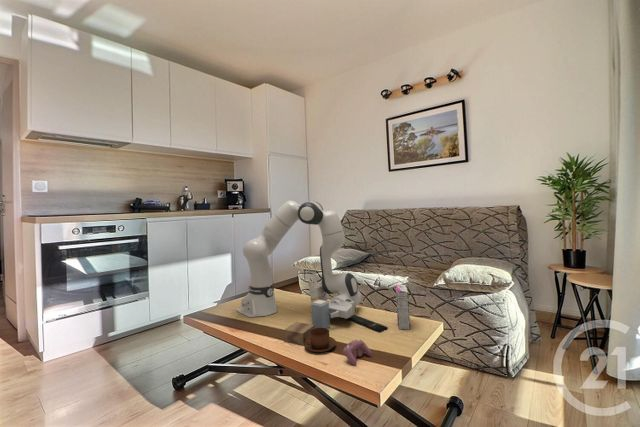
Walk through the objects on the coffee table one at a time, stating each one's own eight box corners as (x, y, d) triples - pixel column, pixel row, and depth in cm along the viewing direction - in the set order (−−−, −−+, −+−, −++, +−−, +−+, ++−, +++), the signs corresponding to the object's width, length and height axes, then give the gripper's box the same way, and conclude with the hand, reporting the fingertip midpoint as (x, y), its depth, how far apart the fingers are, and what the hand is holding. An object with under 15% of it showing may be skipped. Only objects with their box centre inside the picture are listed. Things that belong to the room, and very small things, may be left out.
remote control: (379, 334, 128) (379, 330, 128) (341, 318, 147) (341, 315, 147) (387, 330, 131) (387, 327, 131) (350, 315, 150) (350, 312, 150)
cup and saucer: (322, 358, 109) (321, 341, 109) (298, 349, 117) (297, 333, 117) (342, 345, 118) (341, 329, 118) (318, 337, 126) (317, 323, 126)
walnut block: (284, 341, 124) (284, 329, 124) (297, 333, 132) (296, 321, 132) (303, 346, 120) (303, 333, 119) (315, 336, 127) (314, 325, 127)
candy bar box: (396, 319, 141) (395, 284, 140) (408, 320, 140) (406, 284, 139) (398, 329, 130) (396, 291, 129) (410, 330, 129) (408, 291, 128)
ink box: (320, 311, 155) (315, 282, 156) (312, 311, 158) (307, 282, 158) (328, 305, 162) (324, 278, 163) (320, 305, 165) (316, 278, 166)
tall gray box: (312, 329, 135) (311, 302, 135) (320, 324, 139) (318, 299, 139) (322, 331, 132) (321, 304, 131) (329, 327, 136) (328, 300, 136)
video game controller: (364, 357, 111) (357, 337, 114) (373, 355, 108) (365, 335, 110) (346, 367, 105) (339, 347, 107) (355, 366, 102) (347, 344, 104)
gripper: (321, 295, 153) (303, 303, 142) (356, 301, 141) (340, 311, 130) (321, 308, 153) (304, 316, 142) (357, 315, 141) (340, 325, 130)
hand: (321, 314), depth 136 cm, fingers open, 8 cm apart
